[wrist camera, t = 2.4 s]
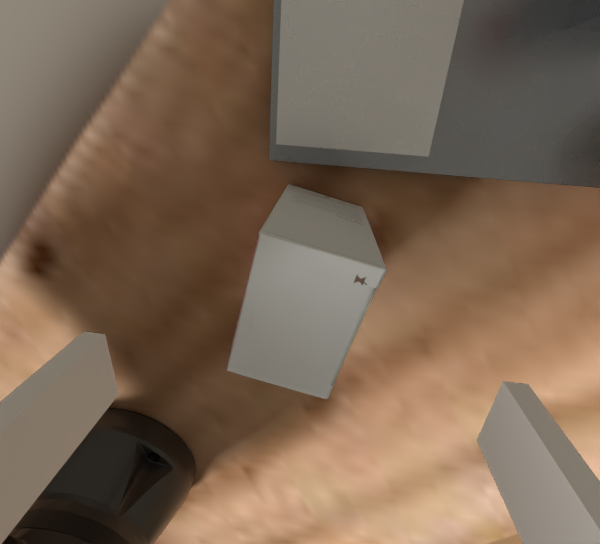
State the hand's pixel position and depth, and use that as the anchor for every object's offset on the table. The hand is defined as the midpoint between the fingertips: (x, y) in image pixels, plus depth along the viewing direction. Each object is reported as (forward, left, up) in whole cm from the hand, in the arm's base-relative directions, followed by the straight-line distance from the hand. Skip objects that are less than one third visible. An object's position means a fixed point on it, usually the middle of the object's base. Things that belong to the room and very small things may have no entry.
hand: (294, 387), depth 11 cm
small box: (0, 0, -15) cm, 15 cm away
